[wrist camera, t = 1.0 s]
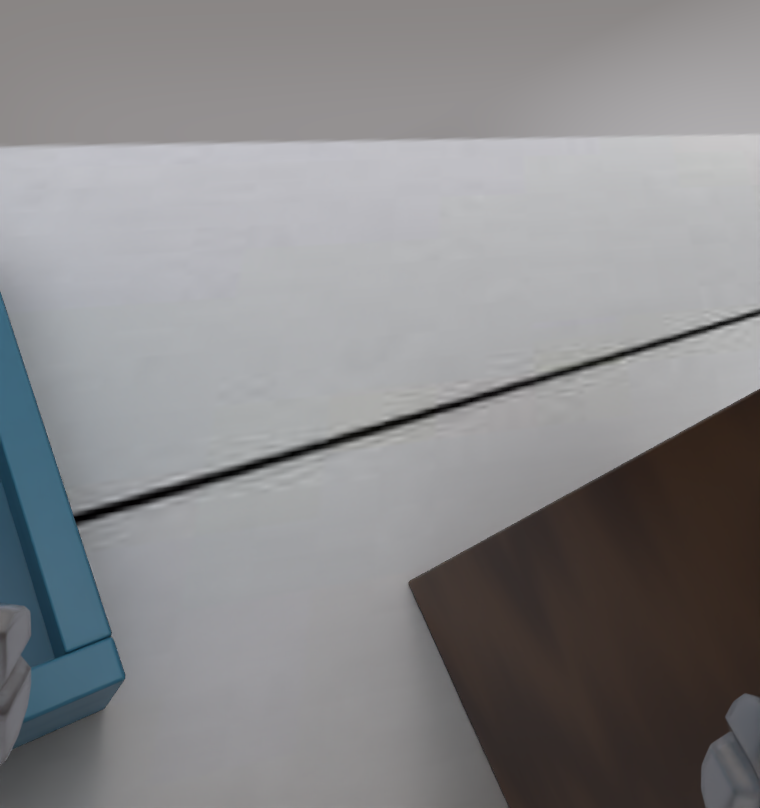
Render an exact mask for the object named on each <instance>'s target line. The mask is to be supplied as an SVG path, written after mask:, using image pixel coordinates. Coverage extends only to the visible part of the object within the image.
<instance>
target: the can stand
mask: <svg viewBox="0 0 760 808" xmlns="http://www.w3.org/2000/svg"><path fill="white" fill-rule="evenodd" d="M409 585H410V587H411V589H412V591H413V594H414V596H415V598H416V600H417V603H418V605H419V607H420V609H421V611H422V614H423V616H424V618H425V620H426V623H427V625H428V627H429V629H430V631H431V634H432V636H433V638H434V640H435V643H436V645H437V647H438V649H439V652H440V654H441V656H442V658H443V660H444V663H445V665H446V667H447V669H448V672H449V674H450V676H451V678H452V680H453V683H454V685H455V687H456V689H457V692H458V694H459V696H460V698H461V700H462V703H463V705H464V707H465V709H466V712H467V714H468V716H469V718H470V720H471V723H472V725H473V727H474V729H475V732H476V734H477V736H478V738H479V741H480V743H481V745H482V747H483V749H484V752H485V754H486V756H487V758H488V761H489V763H490V765H491V767H492V769H493V772H494V774H495V776H496V778H497V781H498V783H499V785H500V787H501V789H502V792H503V794H504V796H505V798H506V801H507V803H508V805H509V807H510V808H706V807H705V803H704V799H703V795H702V791H701V765H702V762H703V760H704V758H705V756H706V754H707V751H708V749H709V747H710V745H711V743H713V742H715V741H716V740H718V739H719V738H721V737H722V736H724V735H725V734H727V733H728V732H730V730H729V727H728V724H727V721H726V718H725V716H726V714H727V712H728V710H729V708H730V707H731V705H732V703H733V701H734V700H736V699H737V698H739V697H740V696H742V695H743V694H745V693H748V694H756V695H760V389H758V390H757V391H755V392H753V393H751V394H749V395H747V396H746V397H744V398H742V399H740V400H738V401H737V402H735V403H733V404H731V405H729V406H727V407H726V408H724V409H722V410H720V411H718V412H716V413H715V414H713V415H711V416H709V417H707V418H706V419H704V420H702V421H700V422H698V423H696V424H695V425H693V426H691V427H689V428H687V429H685V430H684V431H682V432H680V433H678V434H676V435H675V436H673V437H671V438H669V439H667V440H665V441H664V442H662V443H660V444H658V445H656V446H655V447H653V448H651V449H649V450H647V451H645V452H644V453H642V454H640V455H638V456H636V457H634V458H633V459H631V460H629V461H627V462H625V463H624V464H622V465H620V466H618V467H616V468H614V469H613V470H611V471H609V472H607V473H605V474H604V475H602V476H600V477H598V478H596V479H594V480H593V481H591V482H589V483H587V484H585V485H583V486H582V487H580V488H578V489H576V490H574V491H573V492H571V493H569V494H567V495H565V496H563V497H562V498H560V499H558V500H556V501H554V502H553V503H551V504H549V505H547V506H545V507H543V508H542V509H540V510H538V511H536V512H534V513H532V514H531V515H529V516H527V517H525V518H523V519H522V520H520V521H518V522H516V523H514V524H512V525H511V526H509V527H507V528H505V529H503V530H501V531H500V532H498V533H496V534H494V535H492V536H491V537H489V538H487V539H485V540H483V541H481V542H480V543H478V544H476V545H474V546H472V547H471V548H469V549H467V550H465V551H463V552H461V553H460V554H458V555H456V556H454V557H452V558H450V559H449V560H447V561H445V562H443V563H441V564H440V565H438V566H436V567H434V568H432V569H430V570H429V571H427V572H425V573H423V574H421V575H420V576H418V577H416V578H414V579H412V580H410V581H409Z"/></svg>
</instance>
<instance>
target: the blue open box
mask: <svg viewBox="0 0 760 808" xmlns="http://www.w3.org/2000/svg"><path fill="white" fill-rule="evenodd" d="M0 602H1V603H8V604H14V605H21V606H25V607H26V608H27V609H28V610H30V615H31V637H30V639H29V641H28V643H27V644H26V646H25V648H24V650H23V651H22V653H21V656H22V657H23V659H24V660H25V661H26V662H27V663H28V665H29V666H30V667H31V688H30V695H29V701H28V707H27V710H26V713H25V717H24V720H23V723H22V726H21V729H20V732H19V735H18V738H17V740H16V742H15V744H14V746H13V748H12V749H14V748H17V747H19V746H21V745H23V744H26V743H28V742H30V741H33V740H35V739H37V738H39V737H42V736H44V735H46V734H48V733H51V732H53V731H55V730H57V729H60V728H62V727H64V726H66V725H69V724H71V723H73V722H75V721H78V720H80V719H82V718H85V717H87V716H89V715H91V714H94V713H96V712H98V711H100V710H103V709H104V708H105V707H106V705H107V704H108V703H109V701H110V700H111V698H112V697H113V696H114V694H115V693H116V691H117V690H118V688H119V687H120V685H121V684H122V682H123V681H124V679H125V672H124V669H123V666H122V663H121V660H120V657H119V654H118V651H117V648H116V645H115V642H114V639H113V638H112V637H111V633H112V632H111V629H110V626H109V623H108V620H107V617H106V614H105V611H104V608H103V605H102V602H101V599H100V595H99V592H98V589H97V586H96V583H95V580H94V577H93V574H92V571H91V568H90V565H89V562H88V559H87V556H86V553H85V550H84V546H83V543H82V540H81V537H80V534H79V531H78V528H77V525H76V522H75V519H74V516H73V513H72V510H71V507H70V504H69V501H68V497H67V494H66V491H65V488H64V485H63V482H62V479H61V476H60V473H59V470H58V467H57V464H56V461H55V458H54V455H53V452H52V448H51V445H50V442H49V439H48V436H47V433H46V430H45V427H44V424H43V421H42V418H41V415H40V412H39V409H38V406H37V403H36V399H35V396H34V393H33V390H32V387H31V384H30V381H29V378H28V375H27V372H26V369H25V366H24V363H23V360H22V357H21V354H20V350H19V347H18V344H17V341H16V338H15V335H14V332H13V329H12V326H11V323H10V320H9V317H8V314H7V311H6V308H5V304H4V301H3V298H2V295H1V292H0Z"/></svg>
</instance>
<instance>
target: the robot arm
mask: <svg viewBox="0 0 760 808" xmlns="http://www.w3.org/2000/svg"><path fill="white" fill-rule="evenodd" d="M30 637H31V615H30V610H28V609H27V608H26V607H25V606H21V605H14V604H8V603H1V602H0V765H1V764H2V763H4V762H5V761H6V760H7V758H8V756H9V754H10V752H11V750H12V748H13V746H14V744H15V742H16V740H17V738H18V735H19V732H20V729H21V726H22V723H23V720H24V717H25V713H26V710H27V707H28V701H29V695H30V688H31V667H30V666H29V665H28V663H27V662H26V661H25V660H24V659H23V657H22V656H21V653H22V651H23V650H24V648H25V646H26V644H27V643H28V641H29V639H30ZM725 718H726V721H727V724H728V727H729V730H730V732H728V733H727V734H725V735H724V736H722V737H721V738H719V739H718V740H716V741H715V742H713V743H711V745H710V747H709V749H708V751H707V754H706V756H705V758H704V760H703V762H702V765H701V791H702V795H703V799H704V803H705V807H706V808H760V695H756V694H748V693H745V694H743V695H742V696H740V697H739V698H737V699H736V700H734V701H733V703H732V705H731V707H730V708H729V710H728V712H727V714H726V716H725Z"/></svg>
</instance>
